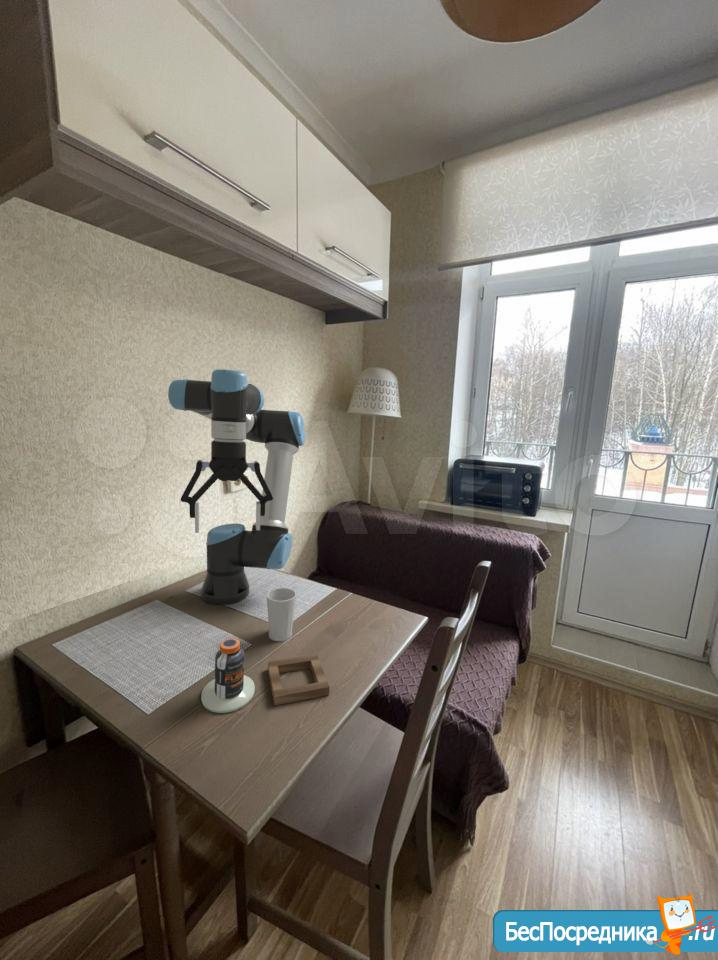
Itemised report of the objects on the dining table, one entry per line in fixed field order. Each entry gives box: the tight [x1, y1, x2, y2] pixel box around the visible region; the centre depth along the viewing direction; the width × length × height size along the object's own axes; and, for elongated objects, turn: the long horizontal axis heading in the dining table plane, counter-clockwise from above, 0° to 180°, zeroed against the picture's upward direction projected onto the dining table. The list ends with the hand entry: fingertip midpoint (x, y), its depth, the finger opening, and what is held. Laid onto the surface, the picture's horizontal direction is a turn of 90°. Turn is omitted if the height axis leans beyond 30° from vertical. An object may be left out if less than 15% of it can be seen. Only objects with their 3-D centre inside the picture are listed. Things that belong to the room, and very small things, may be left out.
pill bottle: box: [214, 637, 245, 699], centre depth 83 cm, size 6×6×11 cm
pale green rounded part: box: [201, 674, 256, 714], centre depth 84 cm, size 11×11×1 cm
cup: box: [266, 587, 297, 642], centre depth 106 cm, size 8×8×12 cm
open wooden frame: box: [267, 654, 330, 706], centre depth 89 cm, size 12×12×2 cm
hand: (228, 530), depth 91 cm, fingers open, 13 cm apart
